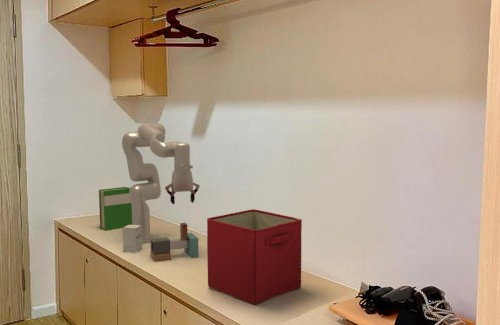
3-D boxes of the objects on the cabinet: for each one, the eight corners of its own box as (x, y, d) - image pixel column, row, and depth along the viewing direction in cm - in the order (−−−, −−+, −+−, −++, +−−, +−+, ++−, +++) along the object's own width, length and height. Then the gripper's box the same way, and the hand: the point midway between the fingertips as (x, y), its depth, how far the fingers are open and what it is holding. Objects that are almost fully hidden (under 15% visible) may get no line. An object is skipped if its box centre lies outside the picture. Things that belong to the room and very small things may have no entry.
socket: (184, 251, 262) (184, 233, 261) (191, 251, 263) (191, 232, 262) (191, 258, 251) (190, 238, 250) (198, 257, 252) (198, 237, 251)
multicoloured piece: (162, 248, 253) (162, 224, 252) (190, 245, 259) (189, 222, 257) (164, 250, 250) (164, 226, 248) (192, 247, 255) (192, 223, 254)
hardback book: (105, 230, 309) (103, 191, 306) (100, 228, 314) (98, 189, 312) (132, 226, 320) (131, 188, 317) (126, 224, 326) (125, 186, 323)
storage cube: (306, 289, 207) (307, 218, 204) (259, 308, 188) (259, 230, 185) (249, 271, 230) (249, 207, 227) (202, 287, 210) (201, 217, 207)
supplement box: (136, 252, 261) (135, 228, 260) (122, 251, 263) (122, 227, 262) (142, 248, 269) (141, 224, 267) (129, 248, 270) (128, 224, 269)
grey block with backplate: (150, 256, 254) (150, 238, 253) (166, 254, 257) (166, 236, 256) (154, 261, 245) (154, 242, 244) (171, 259, 248) (171, 241, 247)
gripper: (196, 166, 258) (197, 200, 260) (162, 168, 252) (163, 203, 254) (201, 168, 252) (201, 203, 253) (166, 170, 245) (167, 205, 247)
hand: (182, 202), depth 253 cm, fingers open, 9 cm apart
